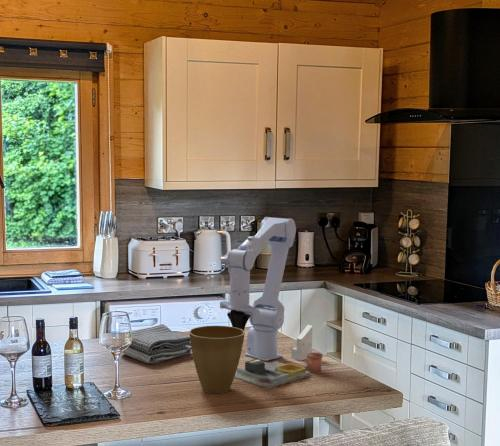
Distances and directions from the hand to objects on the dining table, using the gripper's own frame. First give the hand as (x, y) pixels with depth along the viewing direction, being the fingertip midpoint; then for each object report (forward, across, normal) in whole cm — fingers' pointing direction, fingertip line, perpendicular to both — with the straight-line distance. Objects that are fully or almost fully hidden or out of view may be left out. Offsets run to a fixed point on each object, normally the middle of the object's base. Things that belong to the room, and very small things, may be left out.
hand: (238, 336), depth 220 cm
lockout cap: (+10, +15, +17) cm, 25 cm away
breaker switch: (+9, +7, 0) cm, 12 cm away
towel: (+11, -28, -8) cm, 31 cm away
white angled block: (+11, +3, +25) cm, 27 cm away
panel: (+10, +10, +4) cm, 15 cm away
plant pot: (+10, +8, -16) cm, 21 cm away
